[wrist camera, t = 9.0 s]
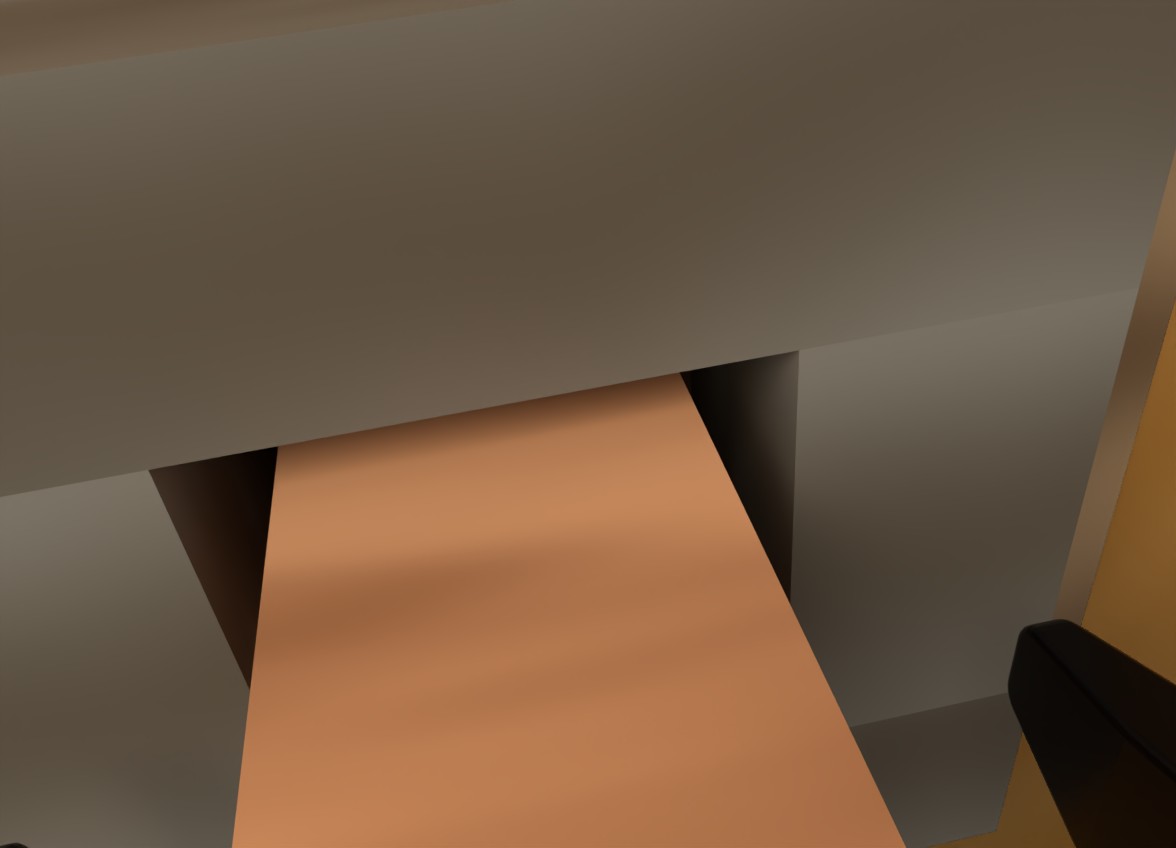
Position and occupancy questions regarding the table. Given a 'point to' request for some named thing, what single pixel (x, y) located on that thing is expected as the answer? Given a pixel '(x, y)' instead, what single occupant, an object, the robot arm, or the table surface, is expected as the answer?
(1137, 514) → the table surface
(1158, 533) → the table surface
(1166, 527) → the table surface
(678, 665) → the peg
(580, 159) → the socket board
